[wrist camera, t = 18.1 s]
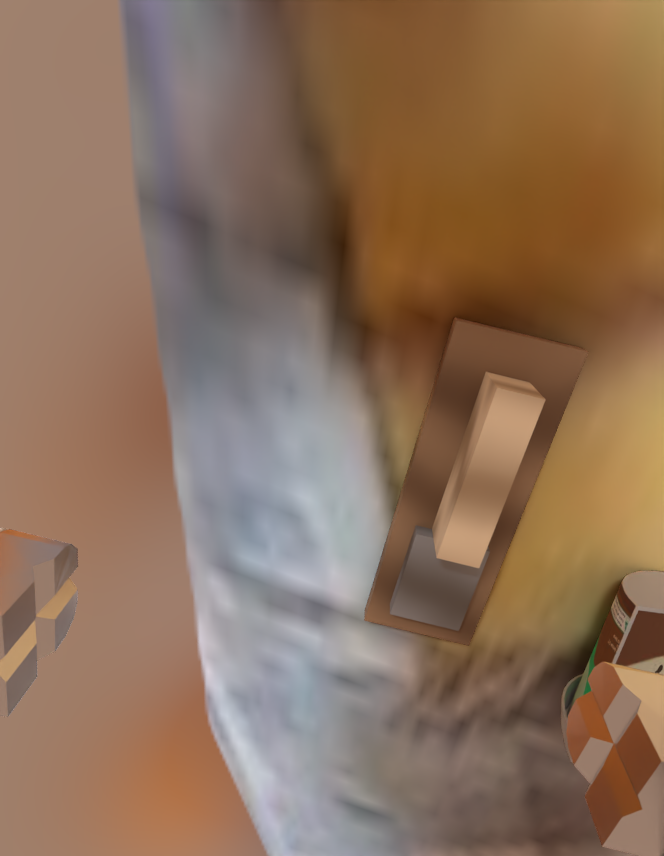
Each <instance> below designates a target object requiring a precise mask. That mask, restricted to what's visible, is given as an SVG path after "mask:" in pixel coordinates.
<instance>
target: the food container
mask: <svg viewBox="0 0 664 856" xmlns="http://www.w3.org/2000/svg"><path fill="white" fill-rule="evenodd" d="M601 662H608V663H613V664H617V665H622V666H627V667H631V668H636V669H641V670H645V671H650V672H655V673H659V674H663V675H664V572H661V571H637V572H633V573H630V574H627V575H626V576H625V578H624V579H623V581H622V582H621V585H620V587H619V590H618V592H617V594H616V597H615V599H614V602H613V604H612V606H611V609H610V611H609V614H608V616H607V618H606V621H605V623H604V626H603V628H602V630H601V633H600V635H599V638H598V640H597V642H596V645H595V647H594V650H593V652H592V654H591V657H590V659H589V662H588V664H587V666H586V669H585V671H584V673H583V674H581V675H578V676H576V677H574V678H573V679H572V680H571V681H569V682H568V684H567V685H566V687H565V688H564V690H563V694H562V701H561V730H562V734H563V740H564V744H565V748H566V752H567V754H568V757H569V759H570V761H571V763H573V761H572V758H571V755H570V752H569V749H568V741H567V734H566V732H567V723H568V714H569V712H570V710H571V708H572V706H573V704H574V702H575V700H576V699H577V698H579V697H581V696H583V695H585V694H587V693H589V692H590V691H591V688H590V685H589V682H588V677H589V675H590V674H591V672H592V670H593V668H594V667H595V666H597V665H598V664H600V663H601Z"/></svg>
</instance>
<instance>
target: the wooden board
mask: <svg viewBox="0 0 664 856" xmlns="http://www.w3.org/2000/svg"><path fill="white" fill-rule="evenodd" d="M587 355H588V351H586V350H585V349H583V348H581V347H576V346H572V345H568V344H564V343H560V342H556V341H551V340H547V339H543V338H539V337H535V336H530V335H526V334H522V333H518V332H514V331H510V330H505V329H501V328H497V327H493V326H489V325H485V324H480V323H476V322H472V321H468V320H464V319H460V318H455V317H454V320H453V323H452V326H451V330H450V333H449V336H448V340H447V343H446V346H445V349H444V353H443V356H442V359H441V362H440V366H439V369H438V372H437V376H436V379H435V382H434V385H433V389H432V392H431V395H430V399H429V402H428V405H427V408H426V412H425V415H424V418H423V421H422V425H421V428H420V431H419V435H418V438H417V441H416V444H415V448H414V451H413V454H412V457H411V461H410V464H409V467H408V471H407V474H406V477H405V480H404V484H403V487H402V490H401V493H400V497H399V500H398V503H397V507H396V510H395V513H394V516H393V520H392V523H391V526H390V530H389V533H388V536H387V539H386V543H385V546H384V549H383V552H382V556H381V559H380V562H379V566H378V569H377V572H376V575H375V579H374V582H373V585H372V588H371V592H370V595H369V598H368V602H367V605H366V608H365V619H364V620H365V621H369V622H373V623H377V624H381V625H386V626H390V627H394V628H398V629H402V630H406V631H410V632H415V633H419V634H423V635H427V636H431V637H435V638H439V639H444V640H448V641H452V642H456V643H460V644H464V645H468V646H469V644H470V641H471V639H472V637H473V634H474V632H475V629H476V627H477V624H478V622H479V619H480V617H481V614H482V612H483V610H484V607H485V605H486V602H487V600H488V597H489V595H490V592H491V590H492V588H493V585H494V583H495V580H496V578H497V575H498V573H499V570H500V568H501V565H502V563H503V561H504V558H505V556H506V553H507V551H508V548H509V546H510V543H511V541H512V538H513V536H514V534H515V531H516V529H517V526H518V524H519V521H520V519H521V516H522V514H523V512H524V509H525V507H526V504H527V502H528V499H529V497H530V494H531V492H532V489H533V487H534V485H535V482H536V480H537V477H538V475H539V472H540V470H541V467H542V465H543V463H544V460H545V458H546V455H547V453H548V450H549V448H550V445H551V443H552V440H553V438H554V436H555V433H556V431H557V428H558V426H559V423H560V421H561V418H562V416H563V414H564V411H565V409H566V406H567V404H568V401H569V399H570V396H571V394H572V391H573V389H574V387H575V384H576V382H577V379H578V377H579V374H580V372H581V369H582V367H583V365H584V362H585V360H586V357H587ZM486 372H489V373H493V374H497V375H501V376H505V377H509V378H513V379H518V380H522V381H526V382H530V383H531V384H532V385H533V386H534V388H535V389H536V390H537V391H538V392H539V393H540V394H541V395H542V396H543V397H544V398H545V399H546V400H545V403H544V405H543V408H542V410H541V413H540V415H539V418H538V420H537V423H536V425H535V428H534V430H533V433H532V436H531V438H530V441H529V443H528V446H527V448H526V451H525V453H524V456H523V458H522V461H521V463H520V466H519V469H518V471H517V474H516V476H515V479H514V481H513V484H512V486H511V489H510V491H509V494H508V496H507V499H506V502H505V504H504V507H503V509H502V512H501V514H500V517H499V519H498V522H497V524H496V527H495V529H494V532H493V535H492V537H491V540H490V542H489V545H488V547H489V550H490V553H489V556H488V558H487V561H486V564H485V566H484V569H483V571H482V574H481V576H480V579H479V581H478V584H477V586H476V589H475V591H474V594H473V596H472V599H471V601H470V604H469V606H468V609H467V611H466V614H465V616H464V619H463V621H462V624H461V626H460V629H459V631H456V630H452V629H448V628H444V627H440V626H436V625H432V624H428V623H424V622H420V621H416V620H411V619H407V618H403V617H399V616H395V615H391V614H390V602H391V599H392V596H393V592H394V589H395V586H396V583H397V580H398V577H399V574H400V571H401V568H402V565H403V562H404V559H405V556H406V553H407V550H408V547H409V544H410V541H411V538H412V535H413V532H414V529H415V526H416V525H417V526H421V527H425V528H430V529H432V527H433V524H434V521H435V518H436V516H437V513H438V510H439V507H440V504H441V501H442V498H443V495H444V492H445V489H446V486H447V484H448V481H449V478H450V475H451V472H452V469H453V466H454V463H455V460H456V457H457V454H458V451H459V449H460V446H461V443H462V440H463V437H464V434H465V431H466V428H467V425H468V422H469V419H470V417H471V414H472V411H473V408H474V405H475V402H476V399H477V396H478V393H479V390H480V387H481V384H482V382H483V379H484V376H485V373H486Z"/></svg>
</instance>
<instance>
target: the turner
mask: <svg viewBox="0 0 664 856" xmlns="http://www.w3.org/2000/svg"><path fill="white" fill-rule="evenodd" d="M545 400H546V399H545V398H544V397H543V396H542V395H541V394H540V393H539V392H538V391H537V390H536V389H535V388H534V386H533V385H532V384H531V383H530V382H526V381H522V380H518V379H513V378H509V377H505V376H501V375H497V374H493V373H489V372H486V373H485V376H484V379H483V382H482V384H481V387H480V390H479V393H478V396H477V399H476V402H475V405H474V408H473V411H472V414H471V417H470V419H469V422H468V425H467V428H466V431H465V434H464V437H463V440H462V443H461V446H460V449H459V451H458V454H457V457H456V460H455V463H454V466H453V469H452V472H451V475H450V478H449V481H448V484H447V486H446V489H445V492H444V495H443V498H442V501H441V504H440V507H439V510H438V513H437V516H436V518H435V521H434V524H433V527H432V529H430V528H425V527H421V526H417V525H416V526H415V529H414V532H413V535H412V538H411V541H410V544H409V547H408V550H407V553H406V556H405V559H404V562H403V565H402V568H401V571H400V574H399V577H398V580H397V583H396V586H395V589H394V592H393V596H392V599H391V602H390V614H391V615H395V616H399V617H403V618H407V619H411V620H416V621H420V622H424V623H428V624H432V625H436V626H440V627H444V628H448V629H452V630H456V631H459V629H460V626H461V624H462V621H463V619H464V616H465V614H466V611H467V609H468V606H469V604H470V601H471V599H472V596H473V594H474V591H475V589H476V586H477V584H478V581H479V579H480V576H481V574H482V571H483V569H484V566H485V564H486V561H487V558H488V556H489V553H490V550H489V547H488V545H489V542H490V540H491V537H492V535H493V532H494V529H495V527H496V524H497V522H498V519H499V517H500V514H501V512H502V509H503V507H504V504H505V502H506V499H507V496H508V494H509V491H510V489H511V486H512V484H513V481H514V479H515V476H516V474H517V471H518V469H519V466H520V463H521V461H522V458H523V456H524V453H525V451H526V448H527V446H528V443H529V441H530V438H531V436H532V433H533V430H534V428H535V425H536V423H537V420H538V418H539V415H540V413H541V410H542V408H543V405H544V403H545Z"/></svg>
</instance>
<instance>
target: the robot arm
mask: <svg viewBox="0 0 664 856" xmlns="http://www.w3.org/2000/svg"><path fill="white" fill-rule="evenodd" d="M77 551H78V550H77V548H76V547H75V546H73V545H72V544H69V543H65V542H61V541H57V540H52V539H49V538H45V537H40V536H36V535H32V534H28V533H24V532H20V531H16V530H12V529H5V528H1V527H0V716H6V717H8V716H9V715H10V713H11V712H12V711H13V709H14V708H15V706H16V705H17V704H18V702H19V701H20V700H21V698H22V697H23V695H24V694H25V693H26V691H27V690H28V688H29V687H30V686H31V684H32V683H33V682H34V680H35V679H36V677H37V661H38V660H40V659H42V658H44V657H46V656H48V655H50V654H51V653H53V652H55V651H56V649H57V648H58V646H59V645H60V644H61V642H62V641H63V639H64V638H65V636H66V634H67V632H68V630H69V627H70V624H71V623H72V620H73V618H74V615H75V610H76V605H77V594H78V590H77V588H76V586H75V585H74V584H73V582H72V581H71V579H70V578H69V577H70V576H71V575H72V573H73V572H74V571H75V570H76V568H77V567H78V554H77V553H78V552H77ZM588 682H589V685H590V688H591V691H590V692H589V693H587V694H585V695H583V696H581V697H579V698H577V699H576V700H575V702H574V704H573V706H572V708H571V710H570V712H569V714H568V723H567V732H566V734H567V741H568V749H569V752H570V755H571V758H572V761H573V764H574V766H575V767H576V768H577V770H578V771H579V772H580V773H581V774H582V775H583V776H584V777H585V779H586V780H587V781H588V782H589V786H588V788H587V791H586V794H585V799H586V802H587V805H588V808H589V811H590V814H591V817H592V819H593V822H594V825H595V828H596V831H597V834H598V837H599V839H600V842H601V845H602V847H606V848H610V849H614V850H618V851H622V852H626V853H630V854H634V855H638V856H664V675H663V674H659V673H655V672H650V671H645V670H641V669H636V668H631V667H627V666H622V665H617V664H613V663H608V662H601V663H600V664H598V665H597V666H595V667H594V668H593V670H592V672H591V674H590V675H589V677H588Z"/></svg>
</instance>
